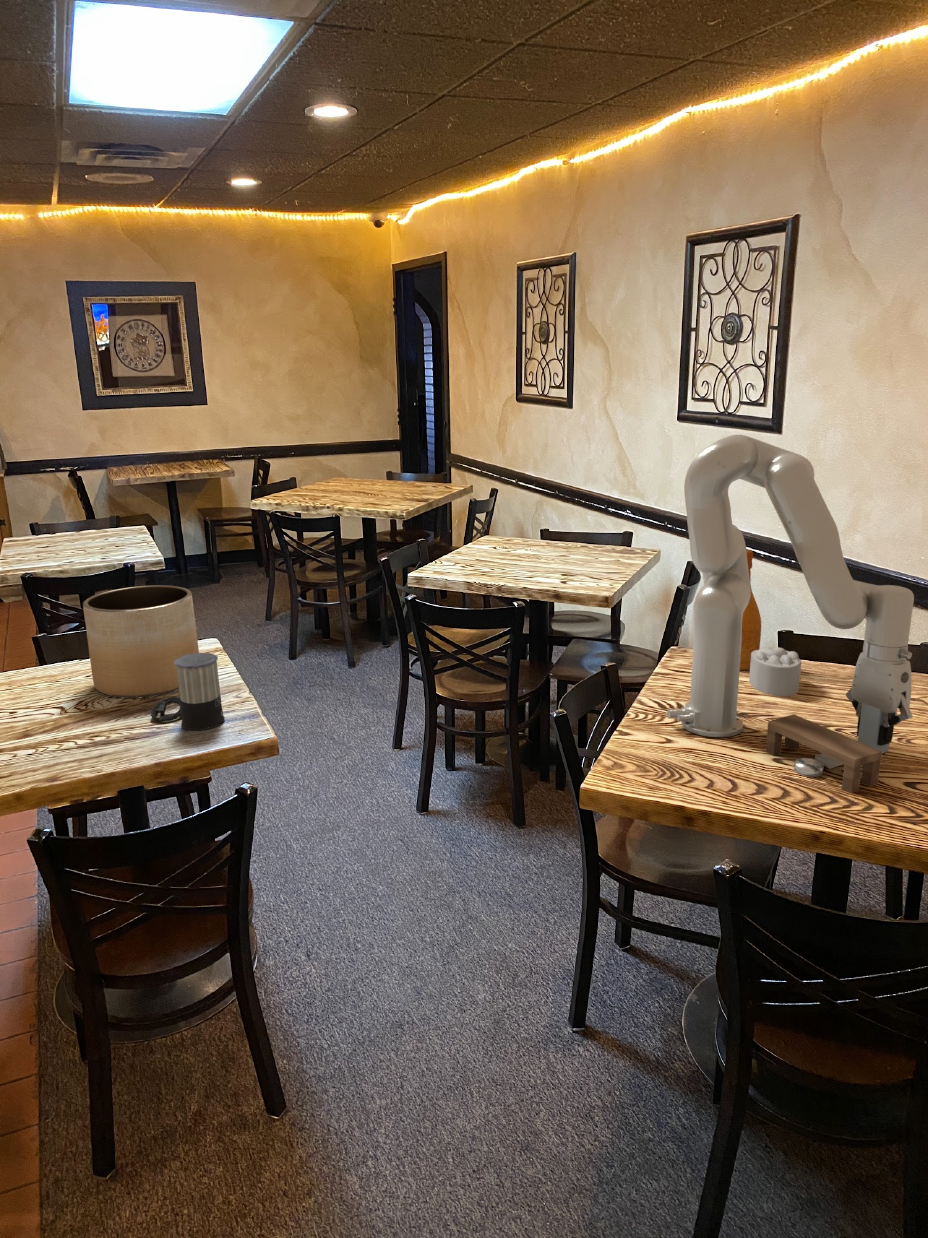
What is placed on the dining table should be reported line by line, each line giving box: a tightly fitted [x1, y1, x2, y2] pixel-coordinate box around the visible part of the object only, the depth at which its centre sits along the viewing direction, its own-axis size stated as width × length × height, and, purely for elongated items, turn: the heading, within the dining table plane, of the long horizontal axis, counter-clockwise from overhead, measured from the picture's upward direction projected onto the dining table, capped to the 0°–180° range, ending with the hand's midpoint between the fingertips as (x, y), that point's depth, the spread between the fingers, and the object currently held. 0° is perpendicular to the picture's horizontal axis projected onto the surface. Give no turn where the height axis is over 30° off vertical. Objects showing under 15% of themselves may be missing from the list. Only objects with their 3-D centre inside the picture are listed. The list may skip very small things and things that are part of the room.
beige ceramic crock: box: [82, 585, 200, 699], centre depth 213 cm, size 25×25×22 cm
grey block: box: [814, 703, 890, 769], centre depth 166 cm, size 16×4×10 cm, turn 117°
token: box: [793, 757, 825, 778], centre depth 162 cm, size 5×5×2 cm
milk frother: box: [150, 652, 225, 731], centre depth 189 cm, size 14×16×15 cm
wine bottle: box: [740, 548, 762, 671], centre depth 215 cm, size 10×10×30 cm
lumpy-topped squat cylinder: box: [748, 647, 802, 698], centre depth 203 cm, size 10×13×9 cm
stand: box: [765, 713, 883, 794], centre depth 162 cm, size 7×20×6 cm, turn 27°
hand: (873, 738), depth 169 cm, fingers closed on grey block, 4 cm apart
